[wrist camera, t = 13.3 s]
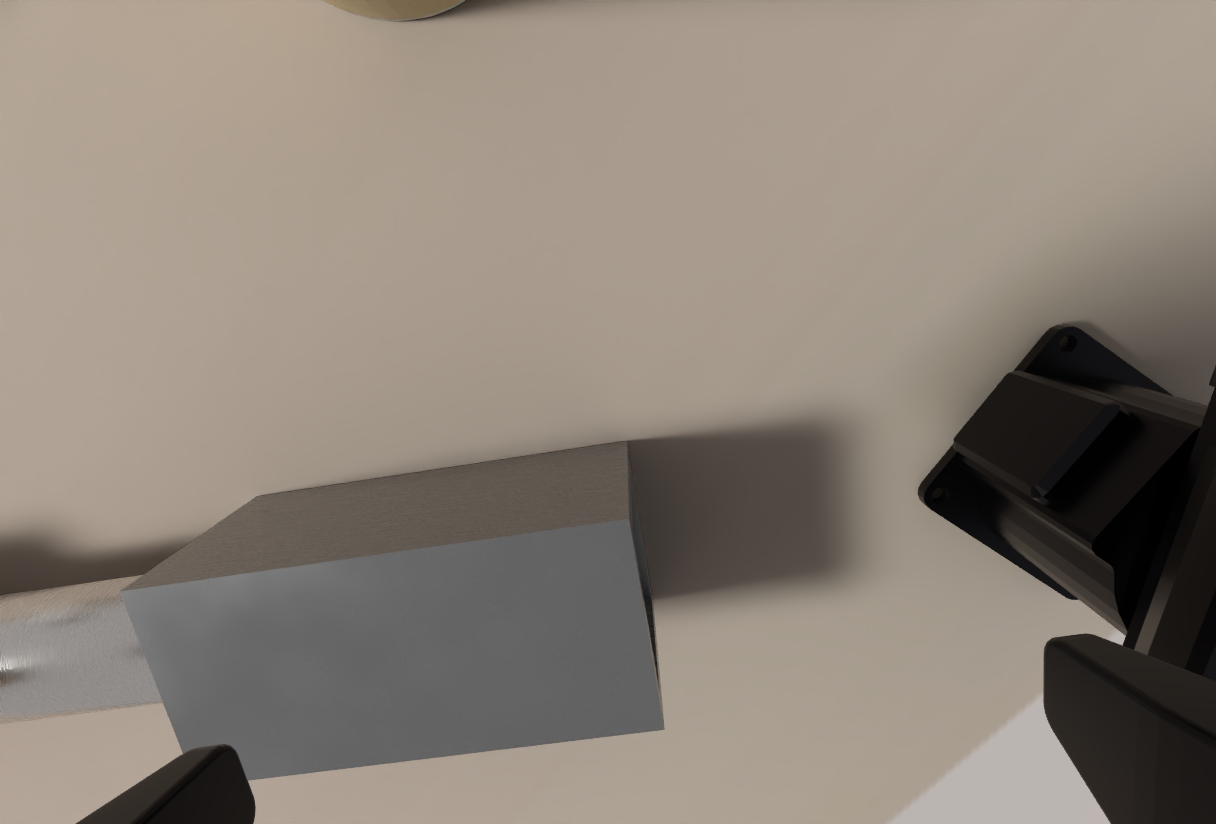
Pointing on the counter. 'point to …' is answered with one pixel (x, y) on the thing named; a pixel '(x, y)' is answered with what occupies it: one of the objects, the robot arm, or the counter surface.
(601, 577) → the steel block
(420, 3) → the coffee cup
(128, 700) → the brown and silver piece
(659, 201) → the counter surface
